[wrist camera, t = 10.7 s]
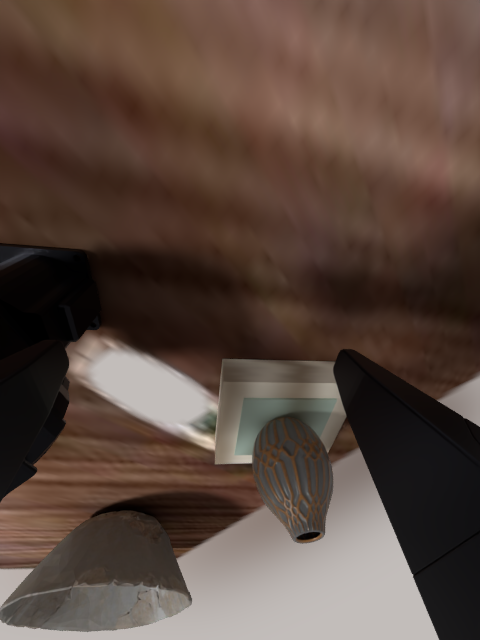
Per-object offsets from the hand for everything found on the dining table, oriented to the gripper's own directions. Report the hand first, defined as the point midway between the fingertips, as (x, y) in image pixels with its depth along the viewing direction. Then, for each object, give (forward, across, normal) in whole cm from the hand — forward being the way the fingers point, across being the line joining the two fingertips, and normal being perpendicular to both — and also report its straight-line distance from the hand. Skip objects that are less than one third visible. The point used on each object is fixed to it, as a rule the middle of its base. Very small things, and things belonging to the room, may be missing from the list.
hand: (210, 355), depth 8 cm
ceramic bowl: (+12, +12, +45) cm, 48 cm away
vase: (+9, -8, +17) cm, 21 cm away
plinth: (+12, -8, +17) cm, 22 cm away
